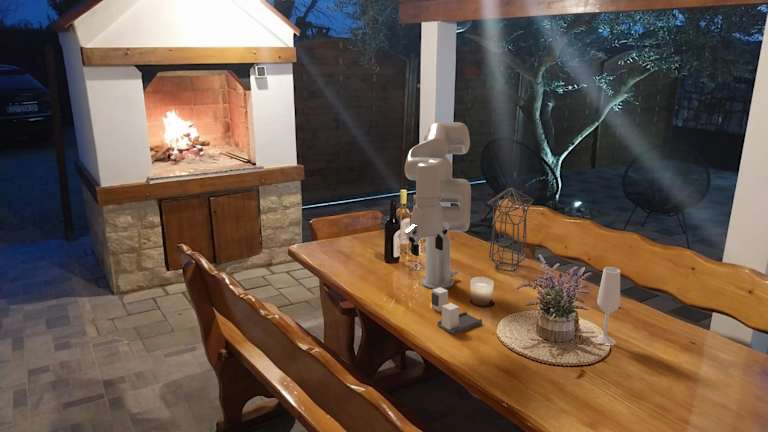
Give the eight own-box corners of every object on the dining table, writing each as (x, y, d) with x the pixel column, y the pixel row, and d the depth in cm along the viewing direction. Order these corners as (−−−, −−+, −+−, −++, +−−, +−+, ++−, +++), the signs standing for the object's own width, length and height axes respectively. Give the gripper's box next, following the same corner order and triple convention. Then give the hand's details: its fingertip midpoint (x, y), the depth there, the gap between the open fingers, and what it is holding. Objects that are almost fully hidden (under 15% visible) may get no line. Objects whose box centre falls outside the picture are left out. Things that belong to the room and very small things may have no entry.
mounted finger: (451, 321, 195) (452, 302, 194) (459, 325, 192) (460, 306, 190) (441, 325, 193) (441, 305, 191) (449, 329, 190) (450, 309, 188)
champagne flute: (615, 337, 186) (623, 267, 179) (616, 347, 180) (624, 274, 173) (593, 334, 188) (600, 265, 181) (593, 344, 182) (600, 272, 175)
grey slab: (465, 315, 202) (465, 311, 202) (482, 323, 196) (482, 319, 195) (437, 325, 195) (437, 321, 194) (453, 334, 188) (453, 330, 188)
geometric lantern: (530, 265, 250) (536, 186, 240) (517, 277, 237) (523, 195, 227) (496, 258, 258) (500, 181, 248) (482, 269, 245) (485, 189, 235)
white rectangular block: (440, 305, 211) (440, 287, 209) (447, 308, 208) (448, 290, 206) (430, 308, 208) (430, 290, 206) (437, 312, 205) (438, 293, 203)
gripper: (441, 195, 191) (440, 244, 196) (398, 202, 182) (398, 254, 187) (456, 199, 185) (455, 250, 190) (412, 207, 176) (412, 260, 181)
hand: (427, 252), depth 189 cm, fingers open, 9 cm apart
